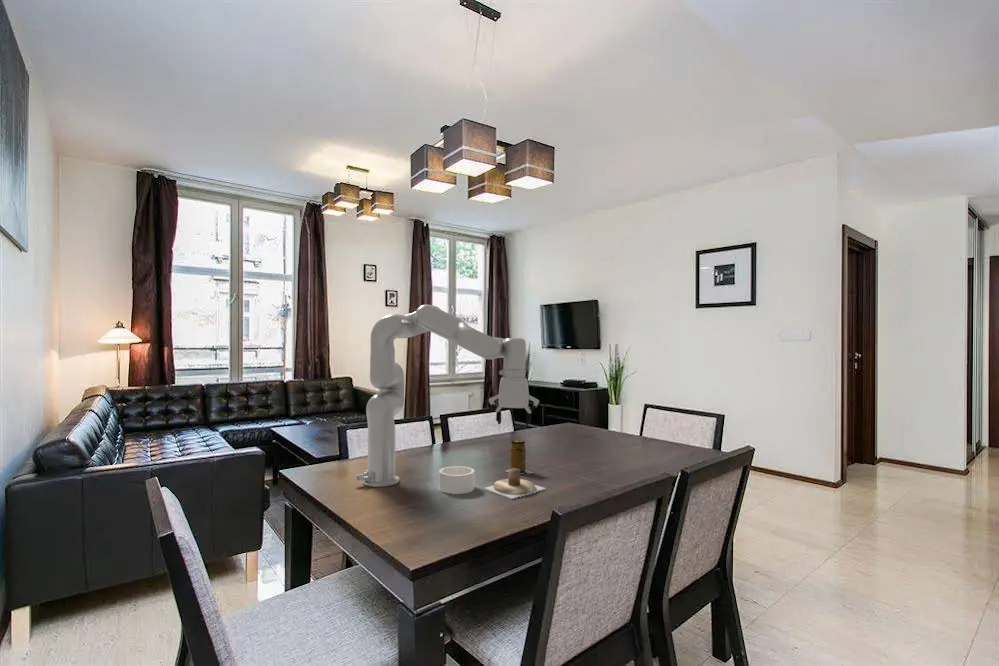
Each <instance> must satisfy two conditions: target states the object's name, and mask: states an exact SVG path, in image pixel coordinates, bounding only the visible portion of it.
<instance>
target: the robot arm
mask: <svg viewBox="0 0 999 666" xmlns="http://www.w3.org/2000/svg"><path fill="white" fill-rule="evenodd" d="M427 332H430V333H432V334H435V335H436V336H439V337H441V338H443V339H445V340H447V341H449V342H452V343H453V344H455V345H457V346H459V347H461V348H463V349H465V350H466V351H468V352H470V353H473V354H474V355H476V356H478V357H480V358H483V359H485V360H495V359H500V358H502V359H503V368H502V369H501V370H500V369H499V371H498V375H502V377H501V378H500V381H499V387H498V388H499V389H498V394H496V395H494V396H492V397H490V398H489V399H488V402H489V404H490V406H491V408H492V409H493V410H494V411H495V413H496V415H495V417H496V418H495V419H496V422H497V425H501V423H502V410H501V409H503V408H506V409H507V408H508V409H525V411H526V415H525V416H526V417H525V425H526V426H529V424H530V423H531V420H532V419H531V418H532V416H531V415H532V413H533V411H535V410H536V408H537V407H538V405H539V403H540V400H539V399H537V397H534V396H532V395H530V392H529V382H528V378H527V377H526V350H527V348H526V346H527V345H526V340H525V339H524V338H520V337H507V338H502V337H496V336H490V335H488V334H486V333H485V332H481V331H479V330H477V329H476V328H474V327H472V326H470V325H469V324H467V322H466V321H465V320H463V319H461V318H459V317H457V316H455V315H452V314H450V313H449V312H446V311H444V310H442V309H441V308H440V307H439V306H436V305H432V304H422V305H420V306H419V307H418V308H417V309H416V311H414V312H412V313H408V314H398V313H395V314H394V313H393V314H392V313H391V314H388V315H385V316H383V317H381V318H380V319H379V320H377V322H376V323H375V324H374V325H373V327H372V329H371V332H370V356H369V357H370V359H369V365H370V366H369V380H370V383H371V385H372V386H373V388H375V389H378V390H379V392H378V393H376V394H374V395H373V396H371V397H370V398H369V400H368V401H367V403H366V408H365V414H366V420H367V469H365V470H364V472H363V473H361V474H355V475H354V476H353V479H354V481H355V482H357V481H362V484H364V486H367V487H373V488H375V487H376V488H382V487H384V488H385V487H390V486H394V485H396V484H398V483H399V482H400V477H399V476H398V475H396V424H395V416H397V415H398V414H399V413H400V412H401V411H402V410H403V408H404V404H405V374H404V369H403V367H402V366H401V365H400V363H398V362H396V361H395V359H396V349H395V343H394V341H395V340H396V339H409V338H411V337H416V336H419V335H421V334H425V333H427ZM497 399H498V406H497V404H495V403H496V402H494V401H496V400H497ZM530 401H531V402H533V405H532V406H531V407H530V406H529V403H530Z"/></svg>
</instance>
